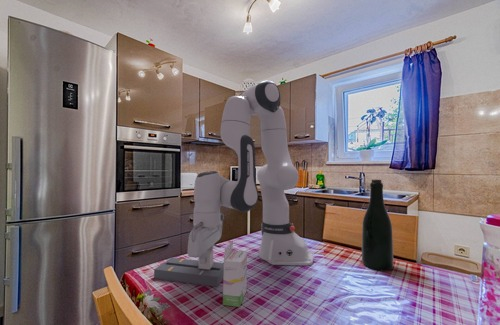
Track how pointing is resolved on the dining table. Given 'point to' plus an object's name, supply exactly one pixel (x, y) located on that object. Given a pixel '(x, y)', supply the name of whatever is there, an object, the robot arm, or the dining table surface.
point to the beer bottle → (377, 231)
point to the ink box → (234, 276)
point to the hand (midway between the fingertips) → (206, 260)
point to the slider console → (189, 272)
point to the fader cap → (209, 262)
